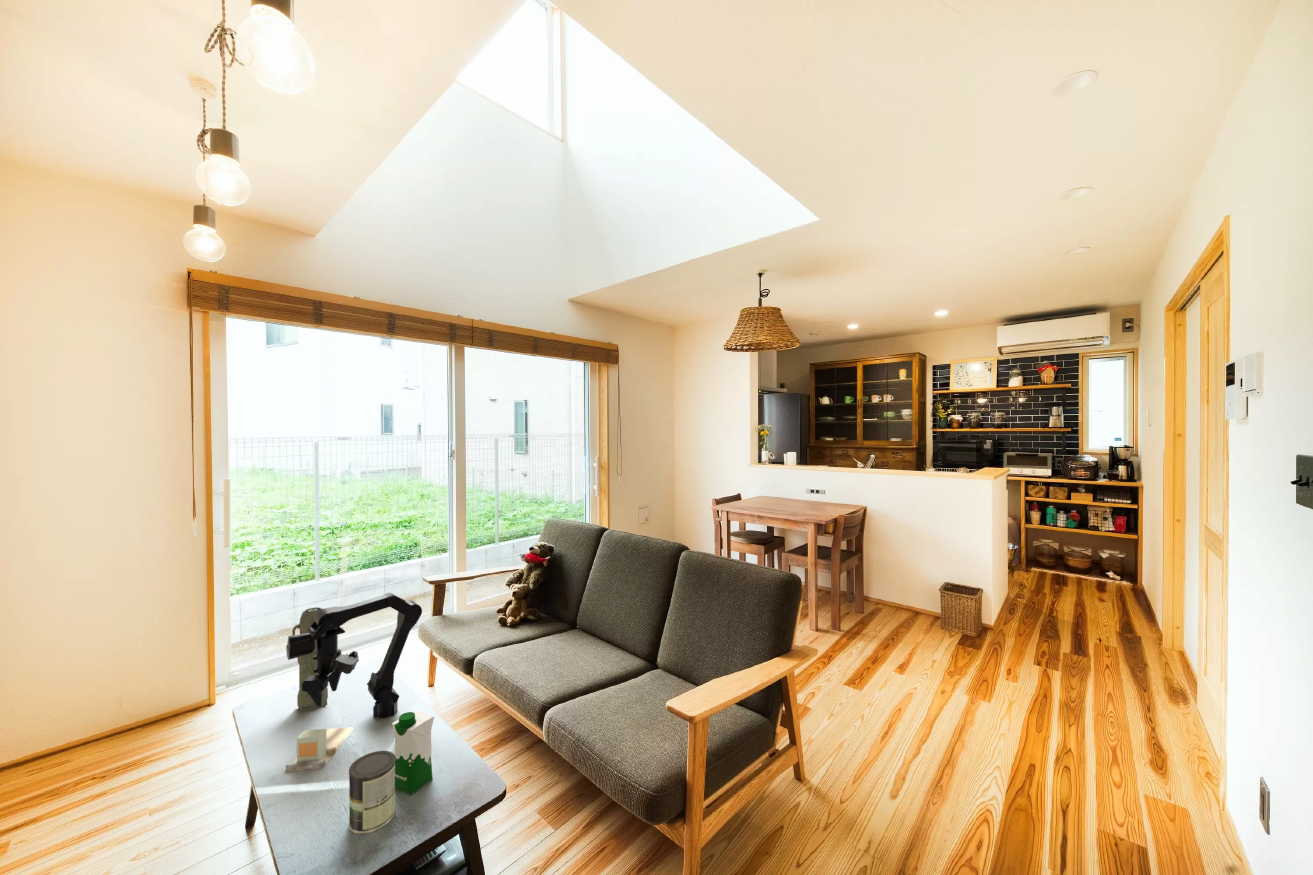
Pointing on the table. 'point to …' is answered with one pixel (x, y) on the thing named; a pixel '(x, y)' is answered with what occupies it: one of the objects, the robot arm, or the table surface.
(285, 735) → the table surface
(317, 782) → the table surface
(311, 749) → the carton
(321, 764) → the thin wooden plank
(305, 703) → the thermos
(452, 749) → the table surface
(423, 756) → the milk carton
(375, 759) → the coffee can
